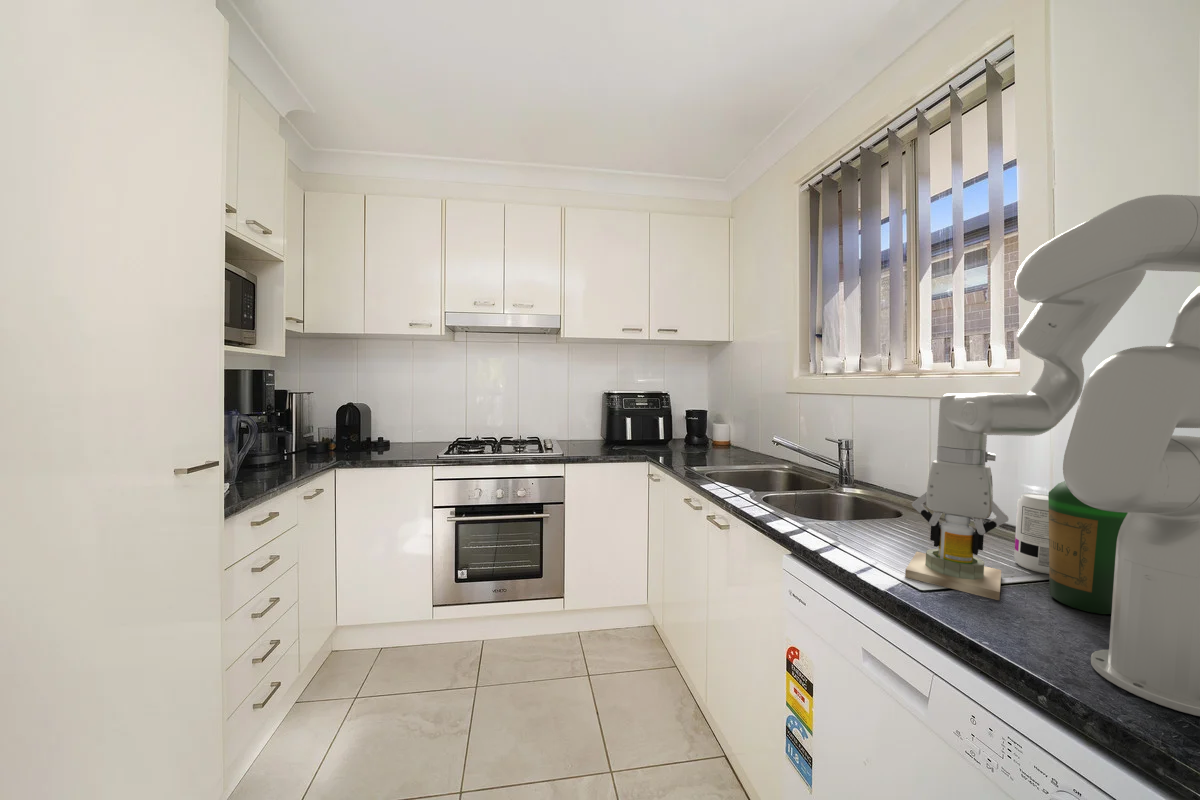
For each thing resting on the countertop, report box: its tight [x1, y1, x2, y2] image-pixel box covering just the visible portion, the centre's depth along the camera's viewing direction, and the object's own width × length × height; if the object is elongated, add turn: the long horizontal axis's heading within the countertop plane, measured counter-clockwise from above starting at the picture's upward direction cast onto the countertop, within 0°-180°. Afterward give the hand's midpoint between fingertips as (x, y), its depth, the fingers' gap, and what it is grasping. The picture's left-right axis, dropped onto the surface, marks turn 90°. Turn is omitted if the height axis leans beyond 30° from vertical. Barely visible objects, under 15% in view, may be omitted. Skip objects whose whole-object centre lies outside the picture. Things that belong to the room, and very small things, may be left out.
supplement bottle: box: [938, 513, 975, 564], centre depth 92 cm, size 5×5×10 cm
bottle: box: [1047, 480, 1128, 615], centre depth 81 cm, size 11×11×28 cm
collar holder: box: [904, 548, 1002, 601], centre depth 92 cm, size 14×14×4 cm
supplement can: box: [1013, 492, 1049, 575], centre depth 98 cm, size 8×8×15 cm
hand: (955, 548), depth 92 cm, fingers closed on supplement bottle, 5 cm apart
